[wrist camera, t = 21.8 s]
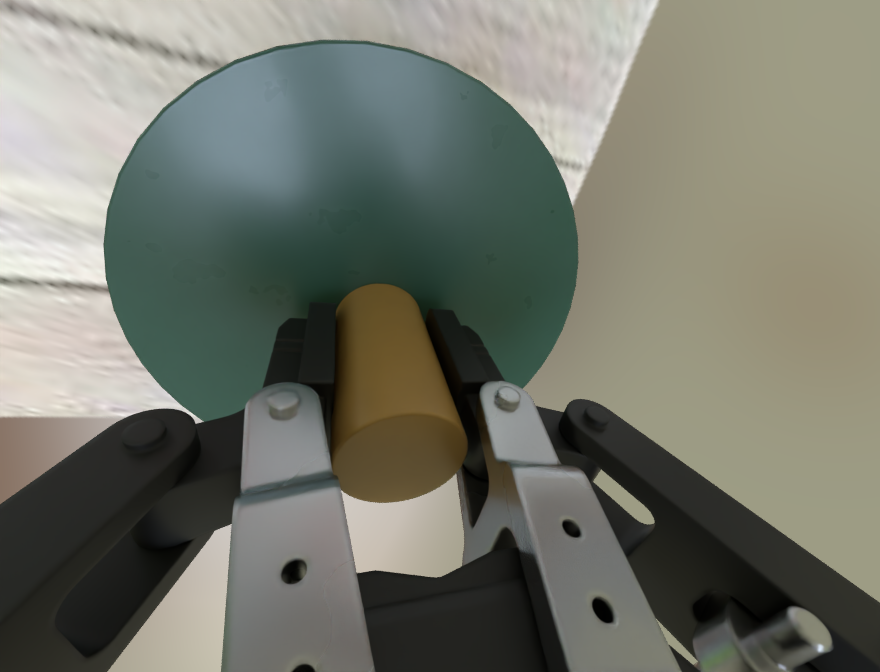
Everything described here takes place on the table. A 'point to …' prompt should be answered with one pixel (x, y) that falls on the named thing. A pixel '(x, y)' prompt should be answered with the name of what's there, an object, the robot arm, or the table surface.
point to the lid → (341, 243)
